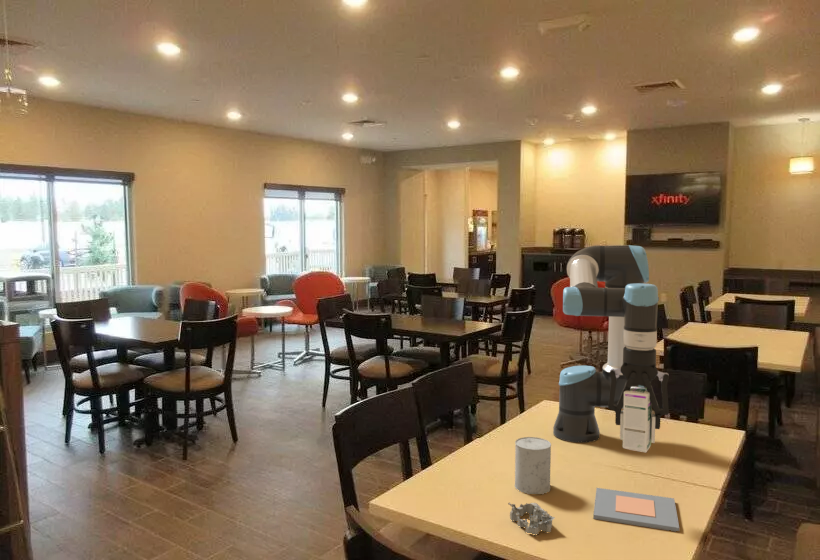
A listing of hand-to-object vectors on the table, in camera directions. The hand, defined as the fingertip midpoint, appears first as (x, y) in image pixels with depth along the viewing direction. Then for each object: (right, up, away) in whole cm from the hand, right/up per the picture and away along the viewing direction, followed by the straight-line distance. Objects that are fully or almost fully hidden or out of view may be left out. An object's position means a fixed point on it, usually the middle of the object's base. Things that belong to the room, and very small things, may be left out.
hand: (636, 439), depth 146 cm
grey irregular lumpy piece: (-27, -19, -5) cm, 34 cm away
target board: (0, -18, +2) cm, 18 cm away
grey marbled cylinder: (-23, -17, +15) cm, 32 cm away
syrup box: (0, -2, 0) cm, 2 cm away
